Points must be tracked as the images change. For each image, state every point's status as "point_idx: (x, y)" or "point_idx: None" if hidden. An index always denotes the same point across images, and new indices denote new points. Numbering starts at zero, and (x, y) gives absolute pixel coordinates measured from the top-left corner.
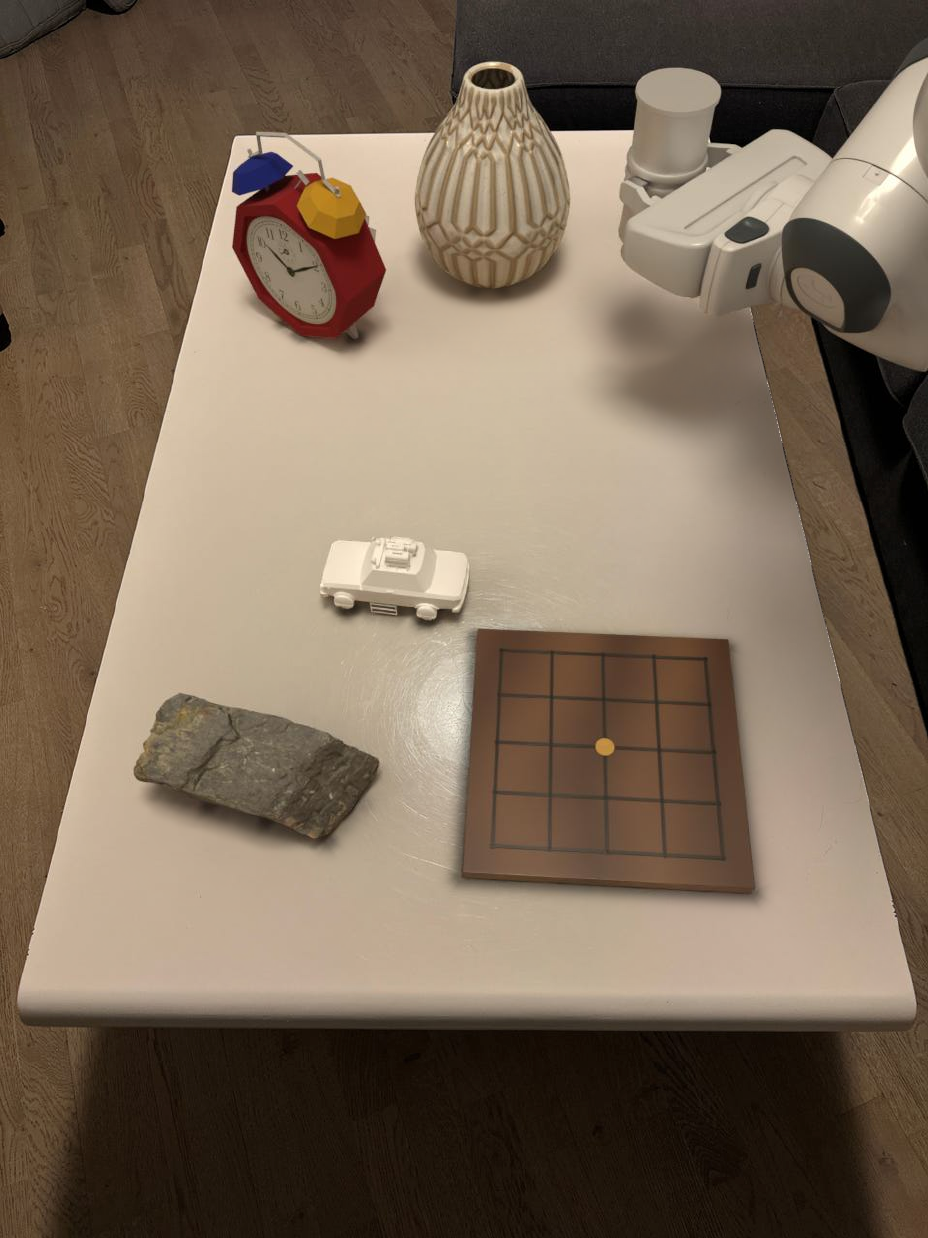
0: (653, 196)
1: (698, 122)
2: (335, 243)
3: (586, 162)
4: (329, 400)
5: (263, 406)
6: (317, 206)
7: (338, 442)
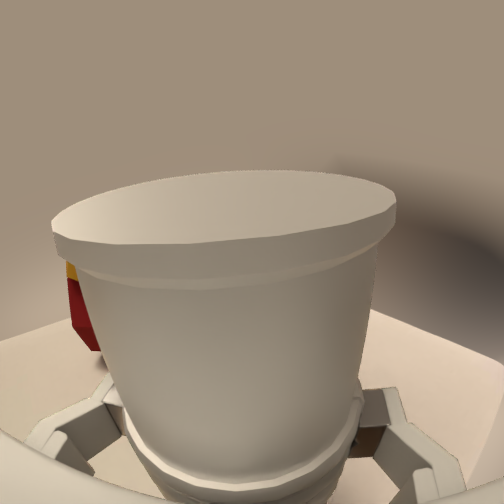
0: (61, 433)
1: (127, 320)
2: (78, 283)
3: (419, 349)
4: (55, 376)
5: (45, 353)
6: None
7: (23, 394)
